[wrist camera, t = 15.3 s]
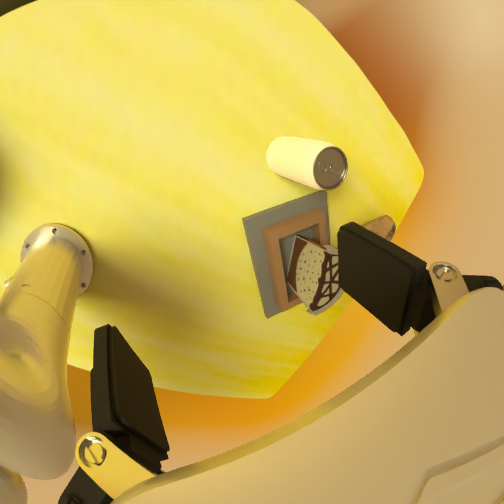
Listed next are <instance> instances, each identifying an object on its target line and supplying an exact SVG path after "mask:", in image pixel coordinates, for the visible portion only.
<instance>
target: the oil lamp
mask: <svg viewBox="0 0 504 504" xmlns="http://www.w3.org/2000/svg"><path fill="white" fill-rule="evenodd" d="M362 227H364V228H366V229H368V230H370V231H372V232H374V233H375V234H377V235H379V236H381V237H383V238H385V239H386V240H388V241H391V239H392V237H393V235H394V233H395V229H396V226H395V223H394V221H393V220H392V219H391V217H390V216H387V215H385V216H382V217H380V218H378V219H375V220H373V221H371V222H369V223H368V224H365V225H363V226H362Z"/></svg>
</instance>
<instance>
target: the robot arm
mask: <svg viewBox="0 0 504 504" xmlns="http://www.w3.org/2000/svg"><path fill="white" fill-rule="evenodd" d="M55 228H56V229H57V230H55ZM337 237H338V282H339V285H340V287H341V288H342V289H343V290H344V291H345V292H346V293H347V294H349V295H350V296H351V297H352V298H353V299H355V300H356V301H357V302H358V303H359V304H361V305H362V306H363V307H364V308H365V309H367V310H368V311H369V312H370V313H371V314H373V315H374V316H375V317H376V318H378V319H379V320H380V321H381V322H382V323H383V324H384V325H386V326H387V327H388V328H389V329H390V330H392V331H393V332H397V333H398V334H400V335H401V336H403V335H404V334H405V333H406V332H407V331H409V330H410V327H412V328H413V329H414V333H415V337H414V338H413V339H412V340H411V341H410V342H408V343H407V344H406V345H405V346H404V347H402V348H401V349H400V350H399V351H397V352H396V353H395V354H394V355H393V356H391V357H390V358H389V359H387V360H386V361H385V362H384V363H382V364H381V365H380V366H378V367H377V368H376V369H374V370H373V371H372V372H370V373H369V374H367V375H366V376H365V377H363V378H362V379H360V380H359V381H357V382H356V383H354V384H353V385H352V386H350V387H349V388H347V389H346V390H344V391H342V392H341V393H339V394H338V395H336V396H335V397H333V398H331V399H330V400H328V401H327V402H325V403H323V404H322V405H320V406H318V407H317V408H315V409H313V410H311V411H310V412H308V413H306V414H305V415H303V416H301V417H299V418H297V419H295V420H294V421H292V422H290V423H288V424H286V425H284V426H282V427H280V428H278V429H276V430H274V431H272V432H270V433H268V434H266V435H263V436H261V437H259V438H257V439H255V440H252V441H250V442H248V443H246V444H243V445H241V446H239V447H236V448H234V449H231V450H229V451H227V452H224V453H221V454H218V455H216V456H213V457H211V458H208V459H205V460H202V461H200V462H196V463H194V464H191V465H187V466H184V467H181V468H178V469H175V470H172V471H169V472H164V471H163V470H161V463H160V461H163V460H166V459H168V455H167V451H169V450H170V449H169V444H168V441H167V437H166V435H165V431H164V427H163V423H162V420H161V416H160V413H159V408H158V404H157V400H156V396H155V392H154V387H153V383H152V378H151V375H150V372H149V370H148V369H147V368H146V366H145V365H144V364H143V363H142V361H141V360H140V359H139V357H138V356H137V355H136V354H135V352H134V351H133V350H132V348H131V347H130V346H129V344H128V343H127V341H126V340H125V339H124V337H123V336H122V335H121V333H120V332H119V330H118V329H117V328H116V327H115V326H113V327H111V326H110V325H109V324H107V325H105V326H102V327H100V328H97V329H95V332H94V356H93V368H92V370H91V411H92V425H93V432H90V433H87V434H85V435H83V436H82V437H81V438H80V439H79V441H78V443H77V445H76V430H75V423H74V417H73V412H72V407H71V403H70V398H69V393H68V386H67V357H68V348H69V340H70V334H71V327H72V321H73V316H74V310H75V305H76V301H77V297H78V296H80V295H81V294H82V293H83V292H84V291H85V290H86V289H87V287H88V286H89V284H90V281H91V278H92V273H93V259H92V255H91V252H90V250H89V247H88V245H87V244H86V242H85V241H84V239H83V238H82V237H81V236H80V235H79V234H78V233H76V232H75V231H74V230H72V229H71V228H69V227H67V226H64V225H60V224H45V225H42V226H40V227H37V228H36V229H35V230H33V231H32V232H31V233H30V234H29V236H28V237H27V238H26V240H25V241H24V244H23V246H22V250H21V264H20V266H19V268H18V269H17V271H16V272H15V274H14V276H13V277H11V278H9V279H7V280H6V281H5V282H4V285H5V288H6V290H5V291H4V293H3V295H2V297H1V299H0V504H27V490H26V487H25V483H24V481H23V479H22V477H21V476H20V475H23V476H26V477H30V478H34V479H40V480H49V479H55V478H58V477H60V476H62V475H63V474H65V473H66V472H67V471H68V469H69V468H70V466H71V464H72V462H73V459H74V457H76V460H77V462H78V464H79V465H80V467H79V468H78V470H77V471H76V473H75V474H74V476H73V477H72V479H71V481H70V482H69V484H68V485H67V487H66V489H65V490H64V492H63V493H62V495H61V496H60V499H59V501H58V504H504V285H503V286H502V285H501V283H500V282H499V281H498V280H497V279H496V278H494V277H491V276H475V275H461V273H460V271H459V270H458V268H456V267H455V266H454V265H452V264H450V263H447V262H435V263H433V264H432V265H431V266H430V268H429V271H428V270H427V269H426V264H427V263H426V262H425V261H423V260H421V259H419V258H417V257H416V256H414V255H413V254H411V253H409V252H407V251H406V250H404V249H402V248H400V247H399V246H397V245H395V244H394V243H392V242H390V241H388V240H386V239H385V238H383V237H381V236H379V235H377V234H375V233H374V232H372V231H370V230H368V229H366V228H364V227H362V226H360V225H359V224H357V223H355V222H350V223H348V224H345V225H343V226H341V227H340V229H339V232H338V234H337ZM83 250H85V251H83Z"/></svg>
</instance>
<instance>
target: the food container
mask: <svg viewBox="0 0 504 504" xmlns="http://www.w3.org/2000/svg"><path fill="white" fill-rule="evenodd" d="M285 281H286V282H287V283H288V285H289V286H290V287H291V288H292V290H293V291H294V292H295V293H296V294H297V296H298V297H299V298H300V299H301V301H302V302H303V303H304V304H305V306H306V307H307V308H308V309H309V310H307V312H308V313H310V314H313V315H317V314H319V313H322V312H323V311H325V310H327V309H328V308H329V307H331V306H332V305H333V304H334V303H335V302H336V301H337V300H338V299H339V297H340V296H341V294H342V293H343V291H344V290H343V289H342V288H341V287H340V285H339V282H338V249H337V248H335V247H333V246H330V245H324V246H322V245H320V244H318V243H316V242H314V241H312V240H310V239H308V238H306V237H304V236H301V235H295V237H294V242H293V247H292V252H291V257H290V261H289V266H288V271H287V276H286V280H285Z"/></svg>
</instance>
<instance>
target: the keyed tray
mask: <svg viewBox="0 0 504 504" xmlns="http://www.w3.org/2000/svg"><path fill="white" fill-rule="evenodd" d="M242 220H243V224H244V228H245V233H246V237H247V241H248V245H249V250H250V254H251V258H252V262H253V266H254V271H255V275H256V279H257V283H258V287H259V292H260V296H261V300H262V304H263V308H264V313H265V316H266V317H267V319H268V318H270V317H272V316H274V315H276V314H278V313H280V312H284V311H286V310H288V309H290V308H292V307H294V306H296V305H298V304H300V303H302V301H301V299H300V298H299V297H298V296H297V294H296V293H295V292H294V291H293V290H292V288H291V287H290V286H289V285H288V283H287V282H286V281H285V280H286V276H287V271H288V266H289V261H290V257H291V252H292V247H293V242H294V237H295V235H301V236H304V237H306V238H308V239H310V240H312V241H314V242H316V243H318V244H320V245H322V246H324V245H330V235H329V219H328V206H327V194H326V191H325V190H321V191H318V192H315V193H312V194H309V195H306V196H303V197H300V198H298V199H295V200H292V201H289V202H286V203H283V204H280V205H278V206H275V207H272V208H269V209H267V210H264V211H261V212H258V213H256V214H253V215H250V216H247V217H245V218H242Z"/></svg>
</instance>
